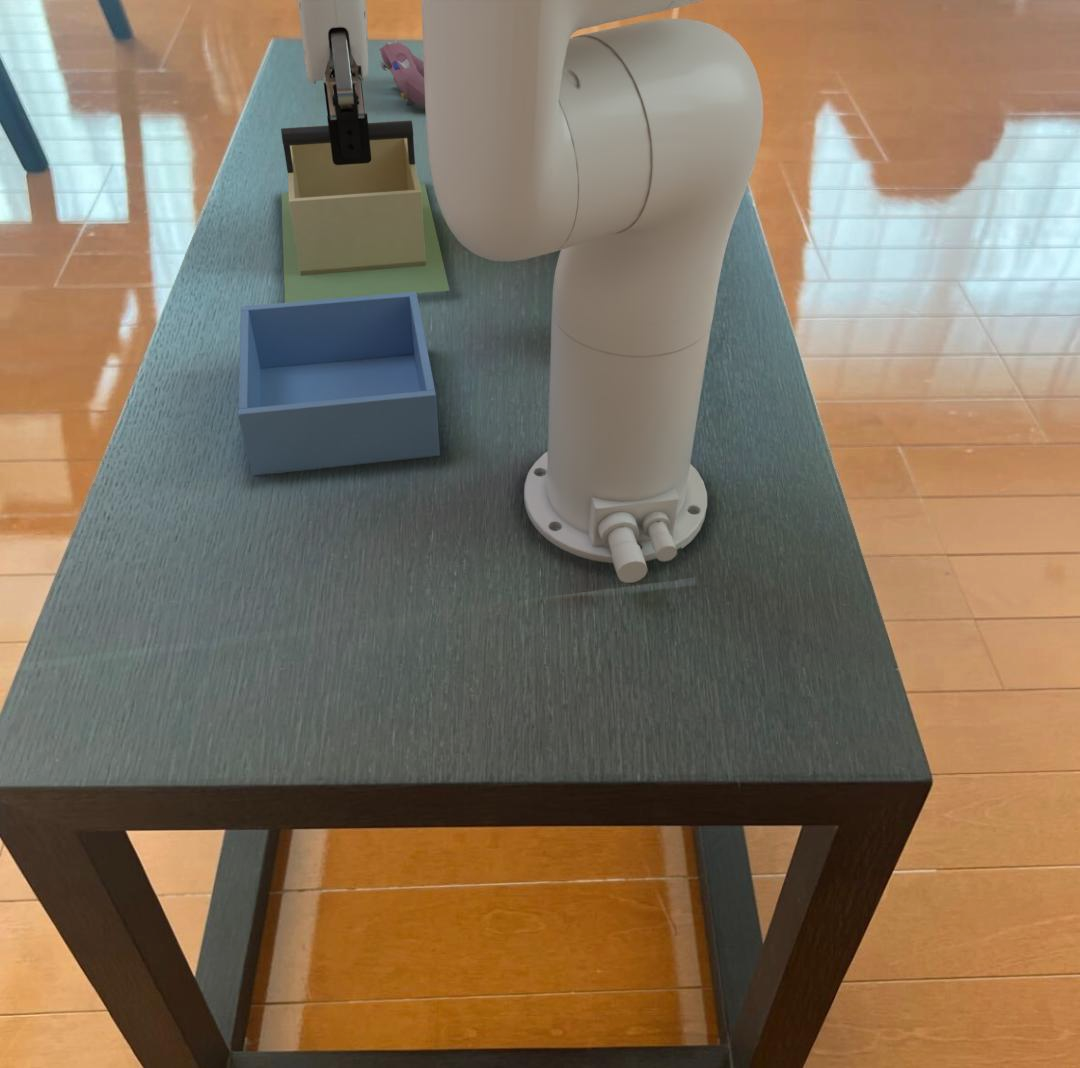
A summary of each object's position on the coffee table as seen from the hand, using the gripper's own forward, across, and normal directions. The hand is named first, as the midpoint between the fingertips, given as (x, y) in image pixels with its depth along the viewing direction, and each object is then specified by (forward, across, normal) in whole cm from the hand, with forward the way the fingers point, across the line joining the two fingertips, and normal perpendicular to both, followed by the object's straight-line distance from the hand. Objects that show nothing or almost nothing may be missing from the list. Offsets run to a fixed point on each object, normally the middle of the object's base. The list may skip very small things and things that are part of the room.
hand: (349, 143), depth 92 cm
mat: (+10, 0, 0) cm, 10 cm away
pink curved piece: (+10, -32, +8) cm, 34 cm away
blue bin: (+10, +25, -3) cm, 27 cm away
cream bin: (+9, 0, 0) cm, 9 cm away
